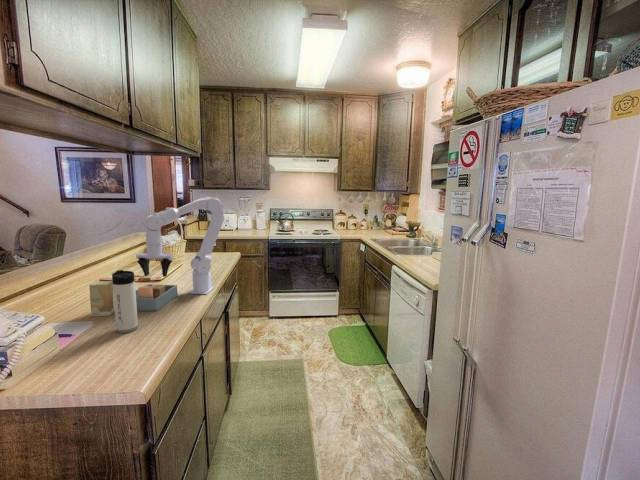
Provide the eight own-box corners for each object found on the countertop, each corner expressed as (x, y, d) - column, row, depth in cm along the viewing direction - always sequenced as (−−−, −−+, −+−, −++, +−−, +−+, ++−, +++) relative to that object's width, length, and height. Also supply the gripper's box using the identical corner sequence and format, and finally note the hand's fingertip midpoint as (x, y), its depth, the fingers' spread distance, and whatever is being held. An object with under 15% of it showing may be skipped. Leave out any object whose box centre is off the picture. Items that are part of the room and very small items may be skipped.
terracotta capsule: (137, 306, 121) (135, 289, 120) (143, 302, 126) (142, 285, 125) (150, 306, 121) (148, 289, 120) (156, 302, 126) (154, 285, 125)
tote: (148, 294, 136) (147, 284, 135) (177, 295, 136) (177, 285, 135) (123, 310, 119) (122, 298, 118) (156, 311, 119) (156, 299, 118)
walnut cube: (148, 299, 129) (147, 288, 128) (154, 295, 134) (153, 284, 133) (160, 300, 129) (159, 288, 128) (165, 295, 134) (165, 284, 133)
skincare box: (90, 317, 112) (87, 285, 110) (96, 312, 116) (93, 281, 114) (111, 315, 114) (108, 284, 112) (115, 311, 118) (112, 280, 116)
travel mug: (133, 323, 109) (129, 268, 105) (141, 328, 104) (137, 272, 101) (113, 328, 104) (108, 272, 100) (120, 335, 100) (115, 276, 96)
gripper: (130, 245, 123) (133, 277, 125) (166, 246, 123) (168, 279, 125) (141, 242, 130) (143, 273, 132) (174, 243, 130) (176, 274, 132)
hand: (155, 275), depth 129 cm, fingers open, 7 cm apart
